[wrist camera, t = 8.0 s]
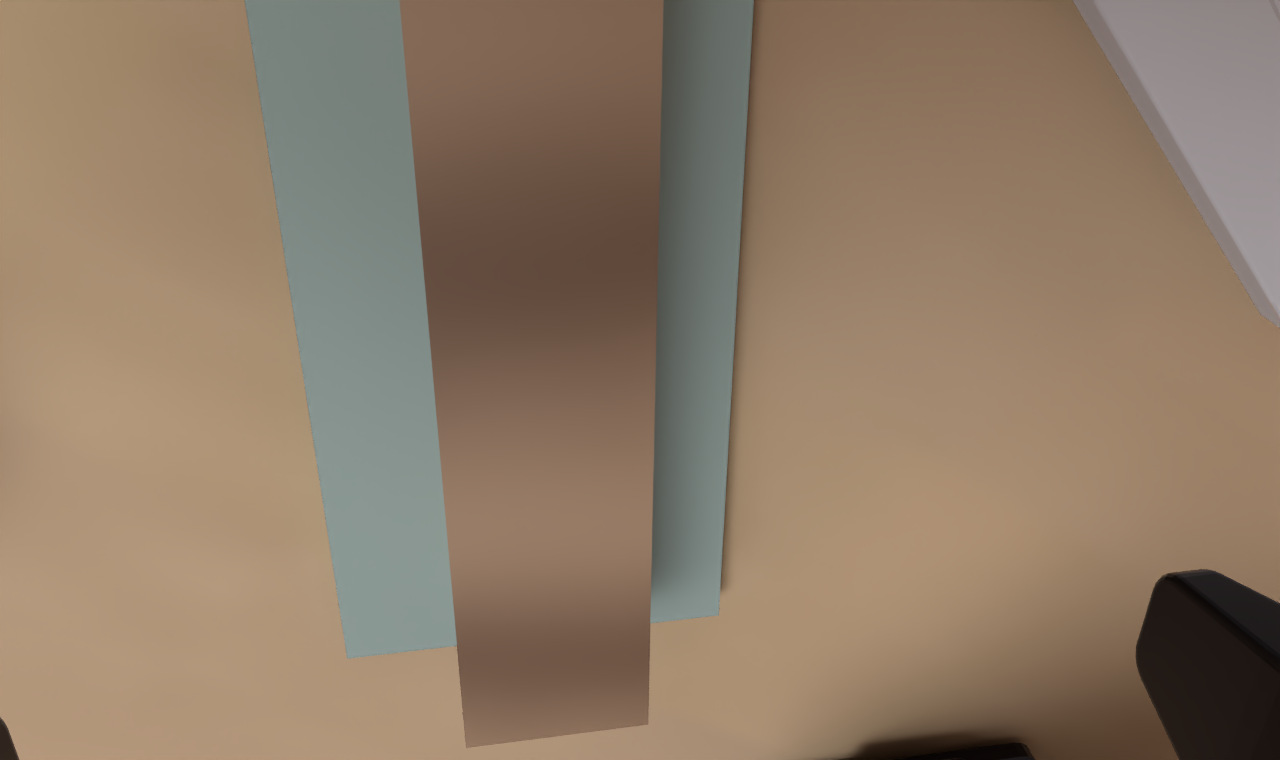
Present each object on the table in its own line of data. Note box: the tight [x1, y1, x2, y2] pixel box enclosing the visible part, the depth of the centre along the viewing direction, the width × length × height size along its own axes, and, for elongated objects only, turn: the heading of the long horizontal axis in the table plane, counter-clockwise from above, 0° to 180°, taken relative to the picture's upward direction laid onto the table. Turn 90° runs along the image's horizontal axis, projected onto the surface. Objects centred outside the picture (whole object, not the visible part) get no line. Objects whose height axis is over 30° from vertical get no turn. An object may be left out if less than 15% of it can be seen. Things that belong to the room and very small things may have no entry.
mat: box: [245, 0, 754, 659], centre depth 18 cm, size 17×7×1 cm, turn 179°
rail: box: [399, 0, 664, 748], centre depth 16 cm, size 16×3×3 cm, turn 179°
